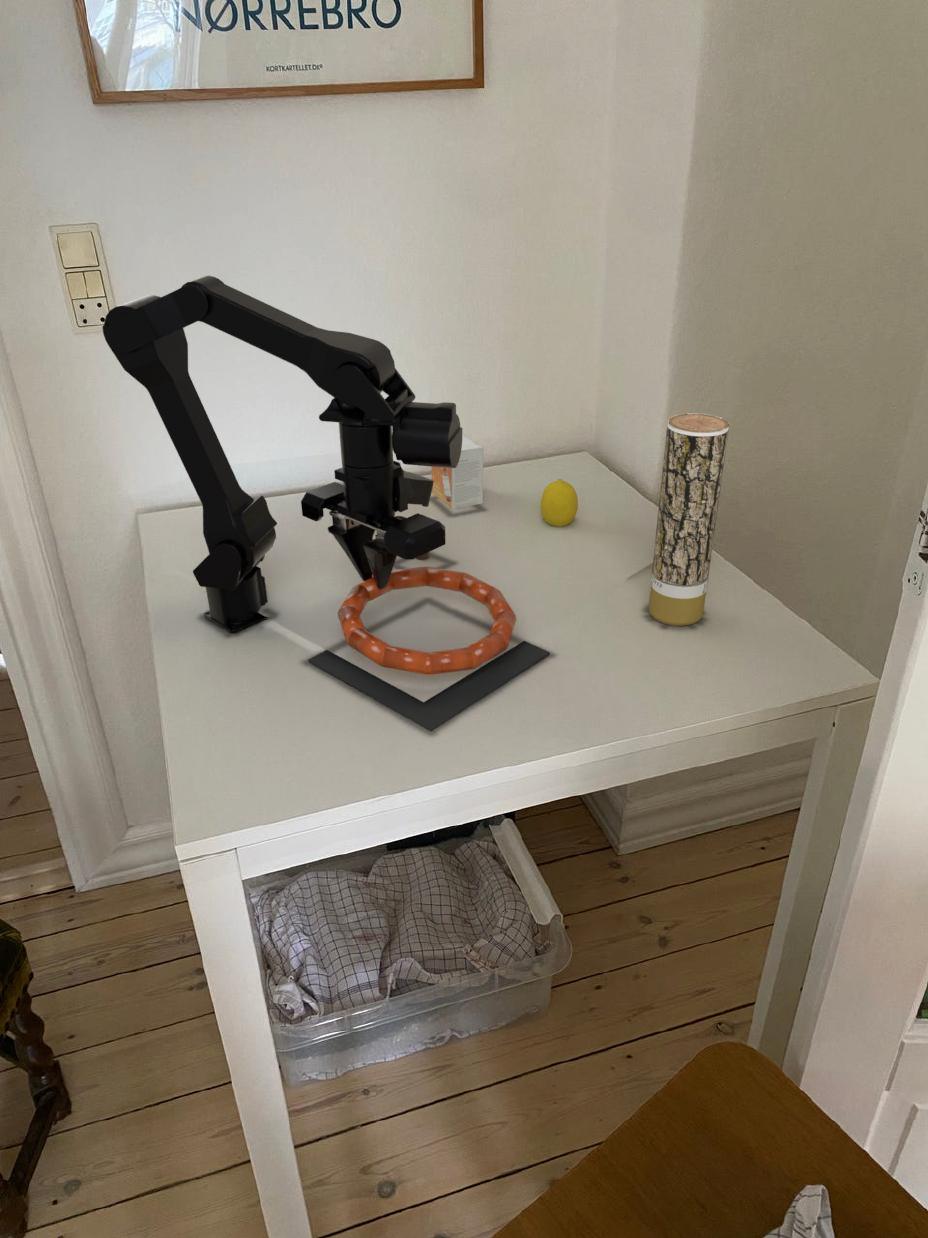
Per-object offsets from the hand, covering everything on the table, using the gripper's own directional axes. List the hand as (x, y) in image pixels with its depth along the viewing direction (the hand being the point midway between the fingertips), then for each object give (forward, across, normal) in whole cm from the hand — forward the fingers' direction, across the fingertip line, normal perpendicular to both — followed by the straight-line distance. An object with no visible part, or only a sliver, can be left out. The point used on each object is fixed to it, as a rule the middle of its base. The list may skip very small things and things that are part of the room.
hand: (375, 584), depth 110 cm
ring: (+1, -9, 0) cm, 9 cm away
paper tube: (+7, -25, -28) cm, 38 cm away
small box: (+7, +20, -36) cm, 42 cm away
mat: (+7, -9, 0) cm, 11 cm away
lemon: (+7, +2, -39) cm, 40 cm away
